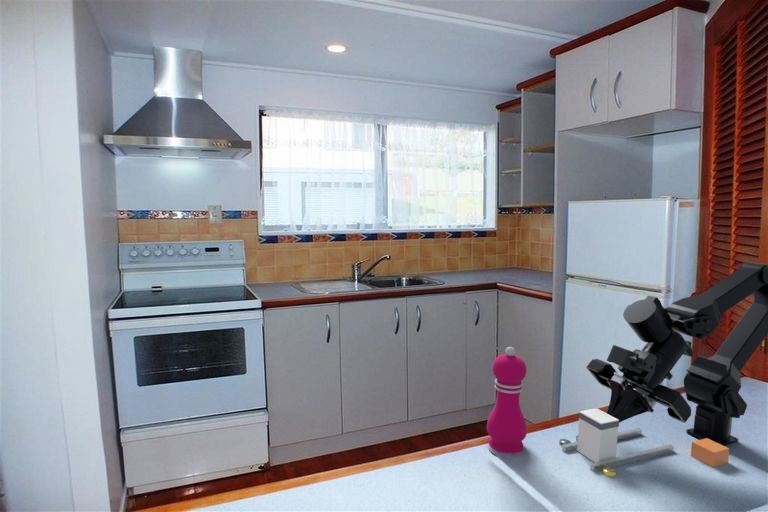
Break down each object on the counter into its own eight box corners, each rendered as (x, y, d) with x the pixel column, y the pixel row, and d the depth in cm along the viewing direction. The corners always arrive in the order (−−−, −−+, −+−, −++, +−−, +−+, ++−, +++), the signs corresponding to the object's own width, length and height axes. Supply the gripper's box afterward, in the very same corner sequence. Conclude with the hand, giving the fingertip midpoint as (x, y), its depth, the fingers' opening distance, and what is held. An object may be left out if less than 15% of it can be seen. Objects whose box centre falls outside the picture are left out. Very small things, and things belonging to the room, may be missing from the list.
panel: (626, 430, 100) (627, 420, 100) (691, 466, 87) (692, 454, 87) (547, 448, 93) (547, 437, 92) (605, 489, 80) (606, 477, 80)
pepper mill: (527, 463, 87) (533, 354, 85) (485, 458, 89) (490, 351, 86) (524, 443, 94) (529, 342, 92) (485, 439, 96) (489, 339, 93)
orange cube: (705, 458, 90) (707, 438, 90) (727, 470, 86) (729, 448, 86) (689, 462, 89) (691, 441, 88) (711, 474, 85) (714, 452, 84)
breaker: (593, 446, 91) (596, 408, 90) (616, 460, 86) (619, 419, 85) (576, 450, 89) (579, 411, 89) (598, 464, 85) (601, 423, 84)
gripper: (597, 318, 97) (548, 379, 94) (686, 345, 79) (630, 420, 77) (623, 353, 101) (577, 412, 98) (714, 386, 83) (661, 459, 81)
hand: (607, 424), depth 88 cm, fingers closed, pressing on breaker
